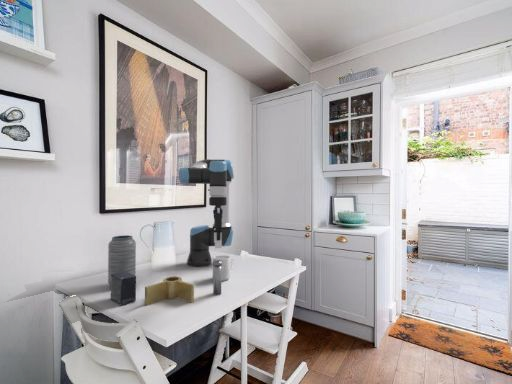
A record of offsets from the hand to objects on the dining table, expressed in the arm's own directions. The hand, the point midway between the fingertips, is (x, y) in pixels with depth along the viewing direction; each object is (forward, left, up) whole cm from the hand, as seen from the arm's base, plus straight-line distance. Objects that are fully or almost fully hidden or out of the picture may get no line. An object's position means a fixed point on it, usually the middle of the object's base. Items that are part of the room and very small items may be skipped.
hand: (217, 245), depth 118 cm
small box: (+1, -38, -21) cm, 44 cm away
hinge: (+2, -19, -21) cm, 28 cm away
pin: (0, 0, -21) cm, 21 cm away
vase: (-18, -44, -21) cm, 52 cm away
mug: (-21, +4, -21) cm, 30 cm away
